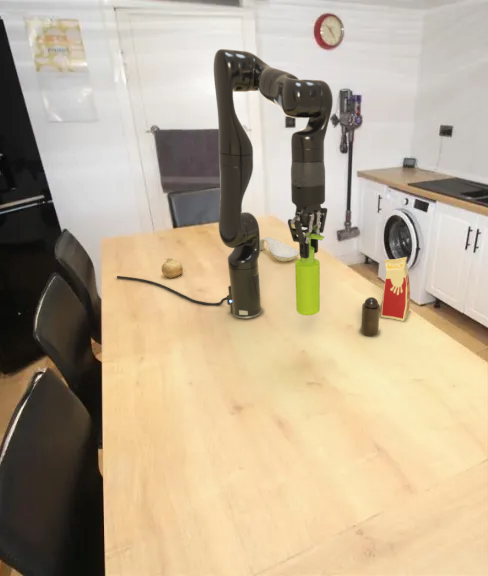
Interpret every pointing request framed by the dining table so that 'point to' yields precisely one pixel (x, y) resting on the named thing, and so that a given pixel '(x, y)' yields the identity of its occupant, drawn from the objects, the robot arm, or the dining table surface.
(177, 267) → the onion
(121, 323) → the dining table surface
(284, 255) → the spoon rest
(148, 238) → the dining table surface
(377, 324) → the pepper mill
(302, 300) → the soap dispenser
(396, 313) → the red cream snack bag
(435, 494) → the dining table surface
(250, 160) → the robot arm
